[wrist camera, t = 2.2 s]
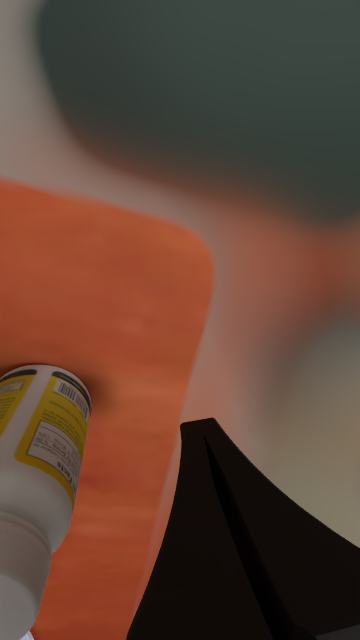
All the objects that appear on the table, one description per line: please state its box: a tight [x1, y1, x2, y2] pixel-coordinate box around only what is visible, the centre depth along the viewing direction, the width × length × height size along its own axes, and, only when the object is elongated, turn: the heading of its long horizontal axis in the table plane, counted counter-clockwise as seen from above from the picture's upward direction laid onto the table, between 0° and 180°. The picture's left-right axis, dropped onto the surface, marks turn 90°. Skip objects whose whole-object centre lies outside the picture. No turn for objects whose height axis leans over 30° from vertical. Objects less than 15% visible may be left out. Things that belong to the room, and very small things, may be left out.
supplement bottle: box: [0, 365, 91, 640], centre depth 11 cm, size 5×5×8 cm
